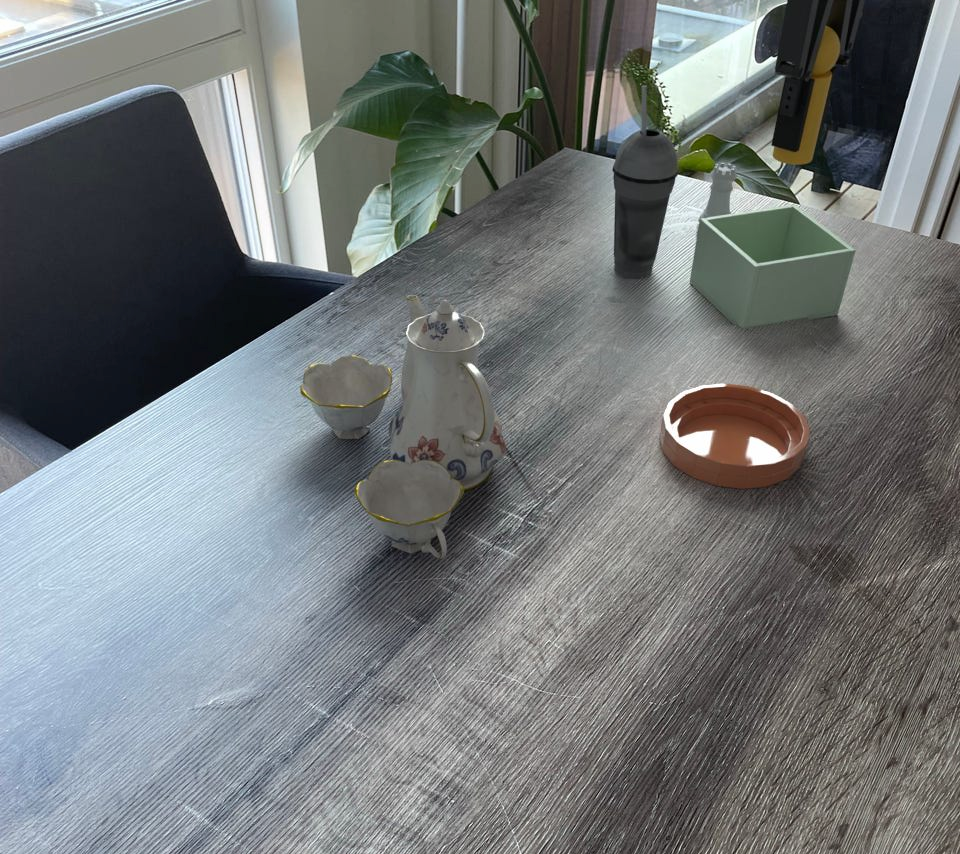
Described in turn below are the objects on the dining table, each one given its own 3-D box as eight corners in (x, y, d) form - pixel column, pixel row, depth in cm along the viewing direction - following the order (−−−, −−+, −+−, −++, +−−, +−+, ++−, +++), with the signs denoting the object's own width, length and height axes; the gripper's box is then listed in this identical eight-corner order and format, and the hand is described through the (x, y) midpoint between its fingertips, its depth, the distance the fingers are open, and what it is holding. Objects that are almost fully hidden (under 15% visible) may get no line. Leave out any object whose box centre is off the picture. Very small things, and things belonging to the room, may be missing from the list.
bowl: (755, 400, 103) (761, 373, 101) (830, 476, 94) (838, 449, 92) (635, 424, 100) (639, 397, 98) (701, 505, 91) (706, 478, 89)
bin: (780, 267, 123) (795, 204, 118) (837, 315, 115) (856, 250, 110) (689, 282, 120) (699, 218, 115) (741, 332, 112) (755, 266, 107)
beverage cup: (656, 288, 119) (683, 102, 105) (595, 278, 121) (613, 94, 106) (669, 261, 124) (696, 80, 110) (610, 251, 126) (629, 72, 111)
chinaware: (284, 429, 101) (241, 272, 89) (436, 373, 105) (415, 216, 93) (402, 606, 84) (369, 442, 72) (578, 531, 88) (576, 364, 76)
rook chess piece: (712, 221, 132) (723, 156, 126) (739, 233, 129) (751, 168, 124) (688, 231, 130) (698, 165, 124) (715, 243, 127) (727, 177, 122)
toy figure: (799, 146, 108) (828, 16, 99) (822, 162, 105) (854, 30, 96) (762, 151, 107) (788, 20, 98) (785, 168, 104) (814, 34, 95)
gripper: (863, -164, 94) (803, 110, 111) (771, -139, 85) (720, 156, 102) (942, -154, 91) (868, 127, 107) (855, -126, 81) (788, 176, 98)
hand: (796, 140), depth 104 cm, fingers closed on toy figure, 4 cm apart
